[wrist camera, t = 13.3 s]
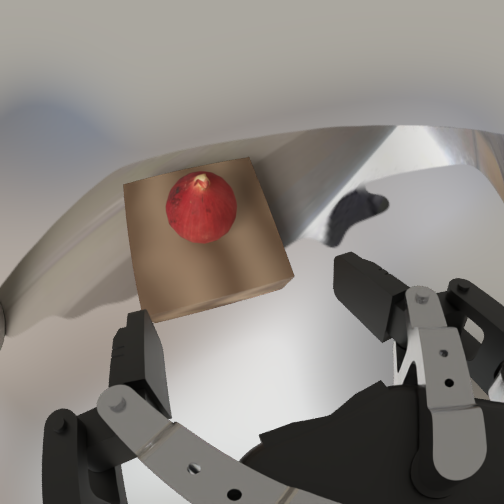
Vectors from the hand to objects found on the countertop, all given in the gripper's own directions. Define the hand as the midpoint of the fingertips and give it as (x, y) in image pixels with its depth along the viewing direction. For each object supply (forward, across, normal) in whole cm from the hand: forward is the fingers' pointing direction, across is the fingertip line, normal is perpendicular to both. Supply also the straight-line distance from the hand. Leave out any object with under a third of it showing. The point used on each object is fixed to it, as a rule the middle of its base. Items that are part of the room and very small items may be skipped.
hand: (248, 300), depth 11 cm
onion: (+16, 0, +2) cm, 16 cm away
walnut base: (+20, 0, +6) cm, 20 cm away
